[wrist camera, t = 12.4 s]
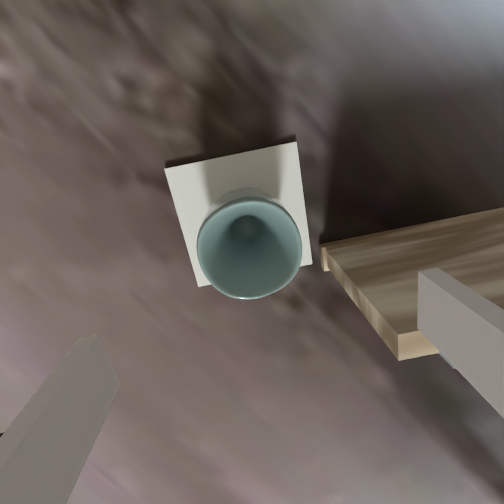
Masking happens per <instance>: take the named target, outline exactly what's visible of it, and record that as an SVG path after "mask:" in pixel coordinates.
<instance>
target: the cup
mask: <svg viewBox="0 0 504 504" xmlns="http://www.w3.org/2000/svg"><path fill="white" fill-rule="evenodd" d="M196 249H197V256H198V261H199V264H200V267H201V269H202V271H203V273H204V275H205V277H206V278H207V279H208V281H209V282H210V283H211V284H212V286H214V287H215V288H216V289H217V290H218V291H220V292H221V293H223V294H225V295H227V296H230V297H233V298H238V299H254V298H260V297H264V296H267V295H270V294H272V293H274V292H276V291H278V290H280V289H281V288H283V287H284V286H286V285H287V284H288V283H289V282H290V281H291V280H292V279H293V277H294V276H295V275H296V273H297V271H298V269H299V267H300V264H301V259H302V241H301V236H300V233H299V230H298V227H297V225H296V223H295V221H294V220H293V218H292V216H291V215H290V213H289V212H288V210H287V209H286V208H285V207H284V206H283V205H282V203H281V202H280V201H279V200H278V199H277V198H276V197H275V196H273V195H272V194H270V193H269V192H267V191H265V190H262V189H259V188H254V187H244V188H238V189H234V190H232V191H229V192H227V193H225V194H224V195H222V196H221V197H219V198H218V199H217V200H216V201H215V202H214V203H213V204H212V205H211V206H210V208H209V209H208V211H207V213H206V214H205V216H204V218H203V221H202V223H201V226H200V229H199V232H198V236H197V246H196Z"/></svg>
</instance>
